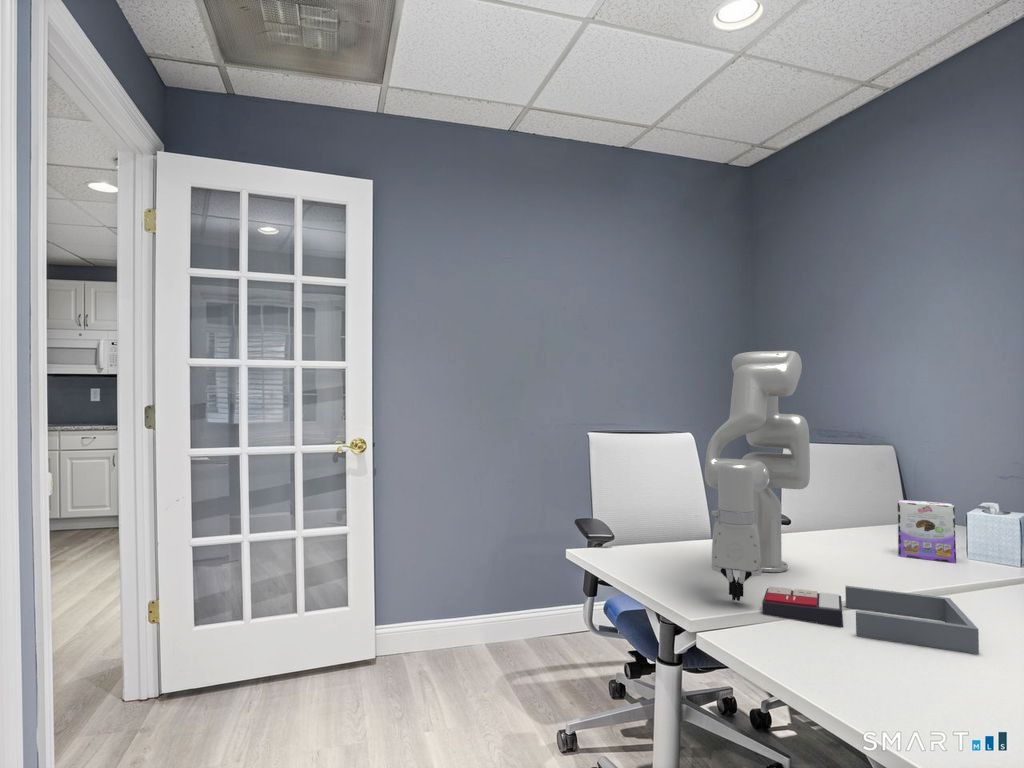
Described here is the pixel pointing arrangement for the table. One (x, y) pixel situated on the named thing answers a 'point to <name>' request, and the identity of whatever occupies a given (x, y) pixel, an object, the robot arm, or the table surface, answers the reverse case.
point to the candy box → (926, 530)
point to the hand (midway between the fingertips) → (736, 598)
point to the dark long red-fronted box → (804, 605)
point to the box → (912, 619)
